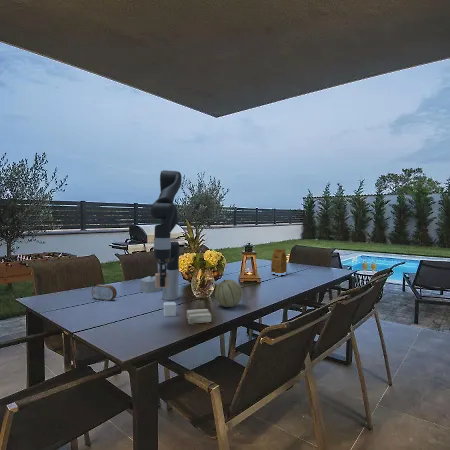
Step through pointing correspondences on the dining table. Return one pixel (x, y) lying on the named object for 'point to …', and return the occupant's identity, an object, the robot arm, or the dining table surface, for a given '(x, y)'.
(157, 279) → the terracotta cube
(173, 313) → the offwhite cube
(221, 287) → the cantaloupe
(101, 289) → the tin
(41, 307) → the dining table surface
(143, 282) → the lumpy-topped squat cylinder
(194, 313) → the gray block
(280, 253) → the coffee package
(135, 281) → the dining table surface
